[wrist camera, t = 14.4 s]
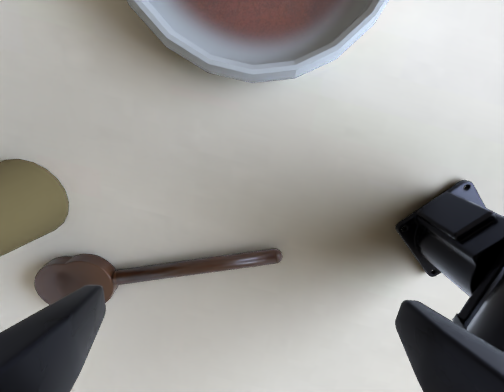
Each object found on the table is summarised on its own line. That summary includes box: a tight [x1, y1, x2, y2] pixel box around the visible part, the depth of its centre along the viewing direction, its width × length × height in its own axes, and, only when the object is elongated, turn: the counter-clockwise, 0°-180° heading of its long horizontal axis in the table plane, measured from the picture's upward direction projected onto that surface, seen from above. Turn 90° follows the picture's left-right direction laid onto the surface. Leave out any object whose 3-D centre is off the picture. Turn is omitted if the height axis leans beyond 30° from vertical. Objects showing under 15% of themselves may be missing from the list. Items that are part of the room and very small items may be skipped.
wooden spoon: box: [34, 249, 282, 305], centre depth 22 cm, size 20×5×1 cm, turn 97°
